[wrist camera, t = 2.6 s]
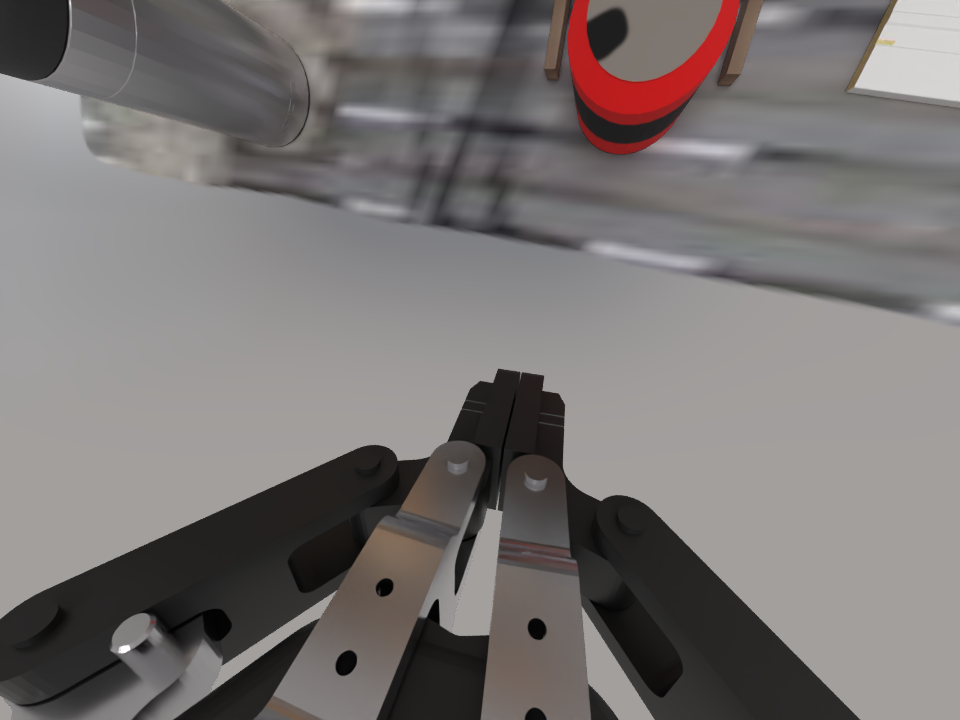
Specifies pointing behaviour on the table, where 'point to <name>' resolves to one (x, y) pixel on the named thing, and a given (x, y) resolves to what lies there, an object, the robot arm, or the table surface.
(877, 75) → the baseboard
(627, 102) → the soda can
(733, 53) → the overhang shelf
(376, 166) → the table surface
